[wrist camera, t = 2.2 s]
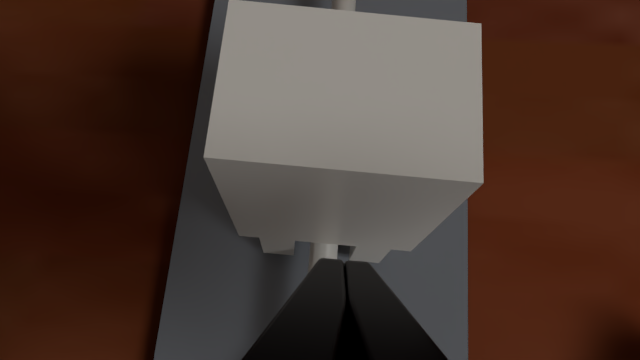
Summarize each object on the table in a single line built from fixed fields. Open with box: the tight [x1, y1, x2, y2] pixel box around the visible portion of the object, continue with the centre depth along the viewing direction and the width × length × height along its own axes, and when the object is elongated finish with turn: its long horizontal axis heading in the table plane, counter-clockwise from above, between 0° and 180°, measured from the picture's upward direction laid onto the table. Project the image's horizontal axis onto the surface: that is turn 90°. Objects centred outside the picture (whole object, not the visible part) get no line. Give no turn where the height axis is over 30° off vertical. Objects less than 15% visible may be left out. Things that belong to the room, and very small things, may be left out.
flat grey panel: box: [154, 0, 468, 360], centre depth 22 cm, size 26×12×5 cm, turn 175°
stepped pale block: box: [204, 0, 483, 263], centre depth 17 cm, size 4×6×10 cm, turn 85°
